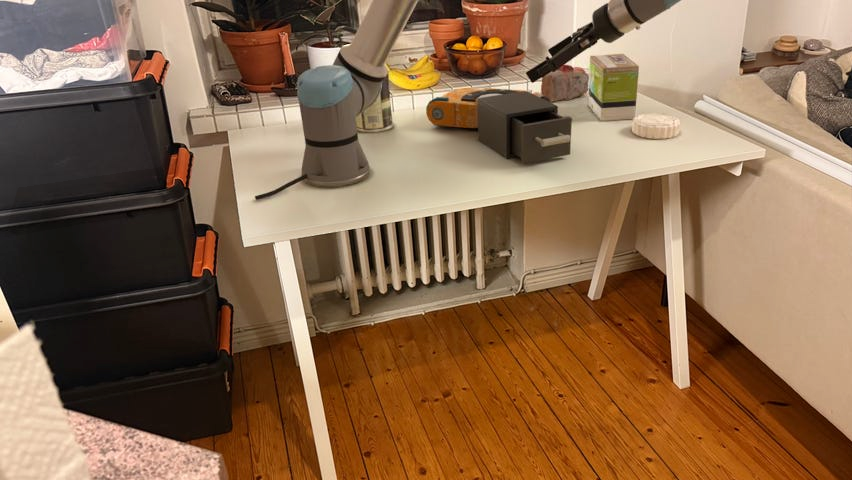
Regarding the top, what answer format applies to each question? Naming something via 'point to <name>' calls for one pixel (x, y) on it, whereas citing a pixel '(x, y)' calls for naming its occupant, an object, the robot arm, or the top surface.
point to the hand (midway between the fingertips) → (540, 65)
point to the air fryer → (506, 117)
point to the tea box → (613, 87)
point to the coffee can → (377, 112)
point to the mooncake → (656, 126)
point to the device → (462, 106)
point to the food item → (565, 83)
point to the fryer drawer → (540, 136)
